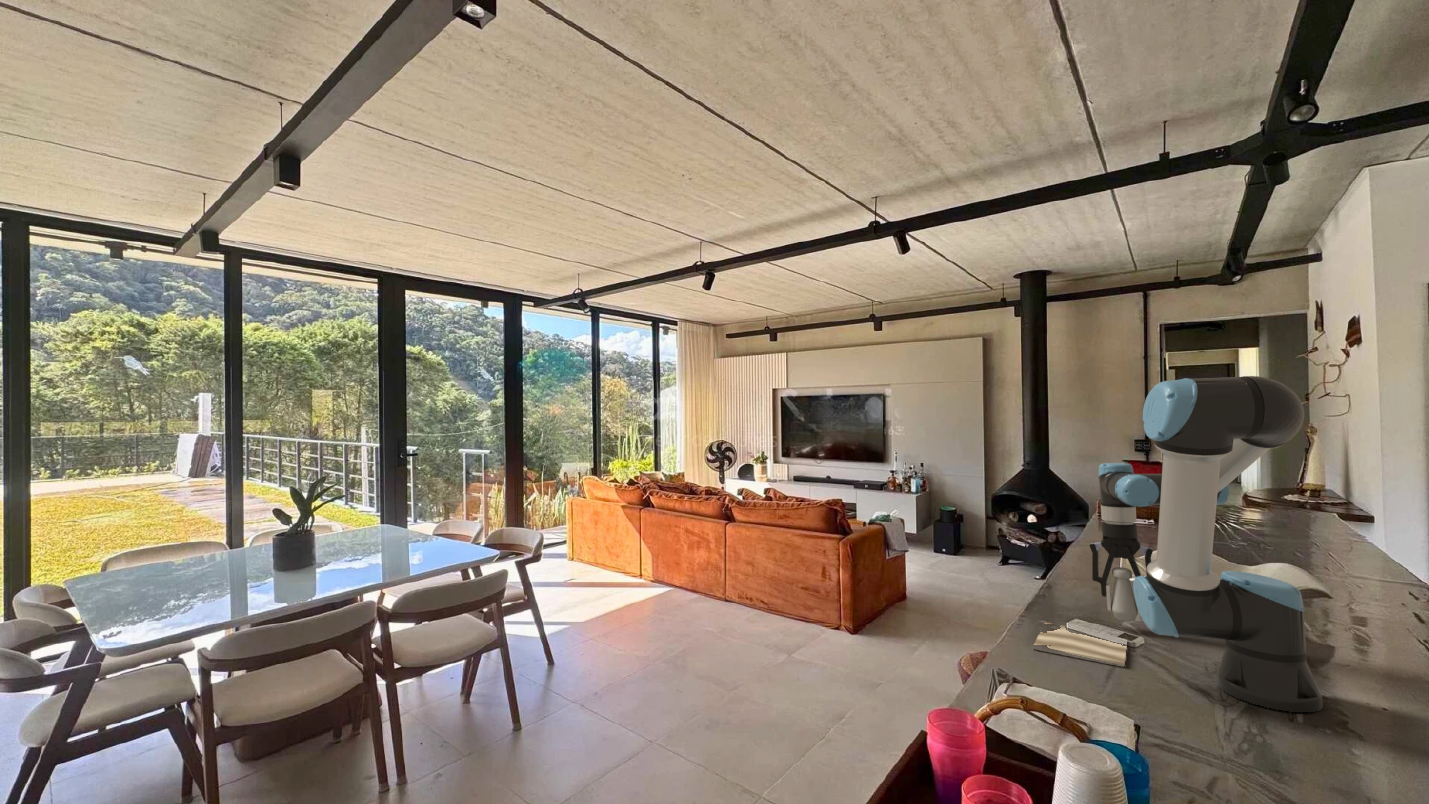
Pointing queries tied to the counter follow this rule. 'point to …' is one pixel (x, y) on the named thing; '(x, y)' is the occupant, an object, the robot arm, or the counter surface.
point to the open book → (1083, 645)
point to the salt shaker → (1123, 595)
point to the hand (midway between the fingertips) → (1124, 611)
